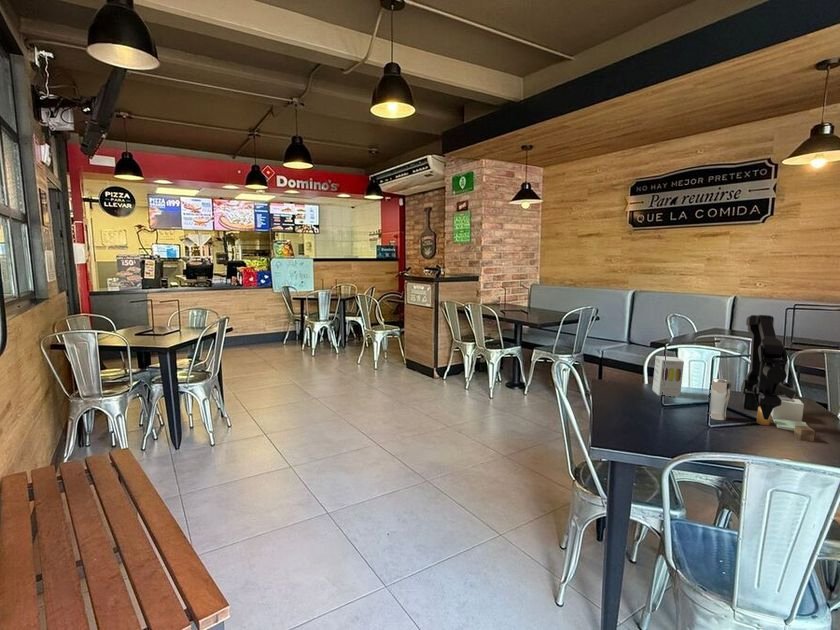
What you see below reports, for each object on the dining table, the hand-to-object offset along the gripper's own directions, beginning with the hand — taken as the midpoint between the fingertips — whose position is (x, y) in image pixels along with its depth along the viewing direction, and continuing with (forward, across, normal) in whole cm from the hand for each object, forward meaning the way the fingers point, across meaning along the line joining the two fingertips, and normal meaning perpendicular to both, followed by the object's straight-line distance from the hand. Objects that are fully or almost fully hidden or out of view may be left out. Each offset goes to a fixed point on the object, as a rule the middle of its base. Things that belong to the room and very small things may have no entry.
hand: (763, 415), depth 174 cm
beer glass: (+3, -2, +15) cm, 15 cm away
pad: (+3, +2, -9) cm, 10 cm away
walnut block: (+3, -11, -10) cm, 15 cm away
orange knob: (+3, 0, 0) cm, 3 cm away
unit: (+3, +13, -9) cm, 16 cm away
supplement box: (+3, +23, +33) cm, 40 cm away
